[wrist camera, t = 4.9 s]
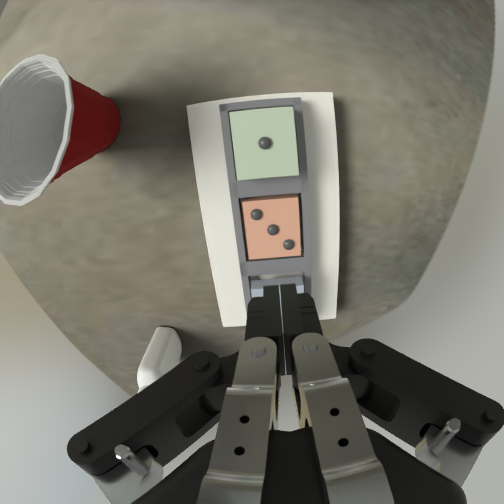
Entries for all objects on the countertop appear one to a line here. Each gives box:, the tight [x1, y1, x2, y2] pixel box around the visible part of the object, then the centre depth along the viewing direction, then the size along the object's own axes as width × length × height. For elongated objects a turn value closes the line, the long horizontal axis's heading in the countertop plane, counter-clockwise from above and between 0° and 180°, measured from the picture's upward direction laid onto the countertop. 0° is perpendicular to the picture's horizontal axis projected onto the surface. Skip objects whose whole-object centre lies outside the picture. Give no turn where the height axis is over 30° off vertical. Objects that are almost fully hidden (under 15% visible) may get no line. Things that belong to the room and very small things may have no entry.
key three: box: [242, 193, 301, 260], centre depth 23 cm, size 5×4×2 cm
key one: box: [229, 107, 299, 181], centre depth 19 cm, size 5×4×2 cm
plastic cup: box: [0, 54, 121, 206], centre depth 17 cm, size 11×11×12 cm
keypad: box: [187, 92, 340, 327], centre depth 24 cm, size 22×12×4 cm, turn 6°
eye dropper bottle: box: [137, 327, 182, 393], centre depth 28 cm, size 4×6×12 cm
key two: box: [251, 276, 304, 327], centre depth 25 cm, size 5×4×2 cm
